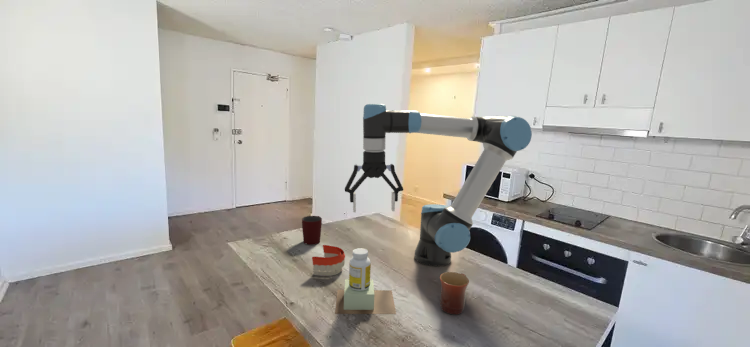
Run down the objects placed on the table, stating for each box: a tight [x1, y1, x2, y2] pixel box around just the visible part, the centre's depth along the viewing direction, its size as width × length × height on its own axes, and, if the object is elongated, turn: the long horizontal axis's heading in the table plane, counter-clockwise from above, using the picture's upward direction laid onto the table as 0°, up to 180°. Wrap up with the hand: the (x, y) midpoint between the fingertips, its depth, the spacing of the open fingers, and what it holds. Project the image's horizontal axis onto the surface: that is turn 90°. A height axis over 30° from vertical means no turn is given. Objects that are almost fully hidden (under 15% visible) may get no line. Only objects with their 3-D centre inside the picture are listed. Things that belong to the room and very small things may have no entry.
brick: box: [343, 278, 375, 310], centre depth 102 cm, size 9×9×5 cm
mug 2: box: [439, 271, 470, 315], centre depth 102 cm, size 12×9×10 cm
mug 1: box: [301, 215, 323, 246], centre depth 151 cm, size 12×9×11 cm
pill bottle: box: [348, 247, 372, 291], centre depth 100 cm, size 6×6×12 cm
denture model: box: [311, 244, 346, 277], centre depth 122 cm, size 12×10×8 cm
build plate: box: [334, 289, 397, 315], centre depth 103 cm, size 18×13×1 cm
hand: (373, 210), depth 115 cm, fingers open, 13 cm apart
